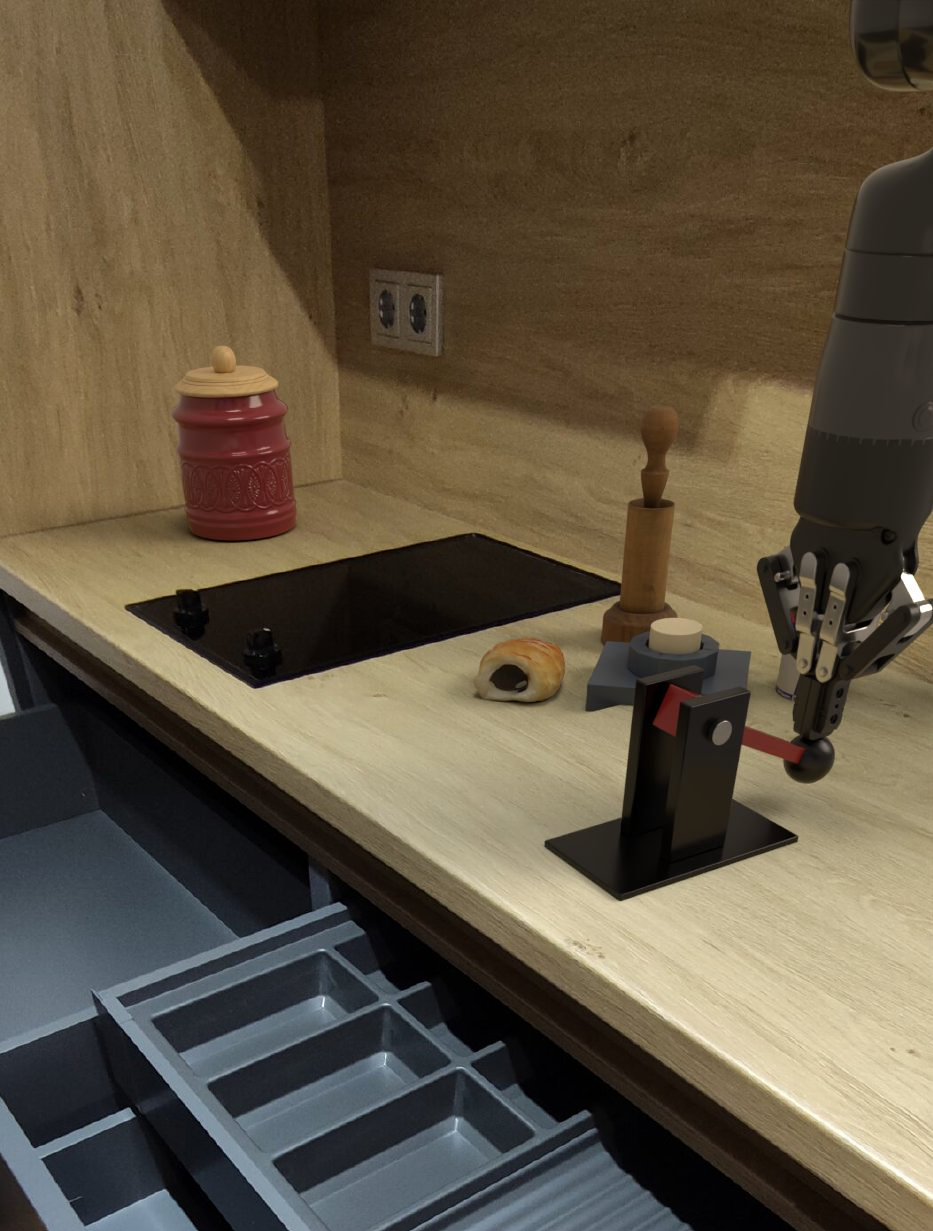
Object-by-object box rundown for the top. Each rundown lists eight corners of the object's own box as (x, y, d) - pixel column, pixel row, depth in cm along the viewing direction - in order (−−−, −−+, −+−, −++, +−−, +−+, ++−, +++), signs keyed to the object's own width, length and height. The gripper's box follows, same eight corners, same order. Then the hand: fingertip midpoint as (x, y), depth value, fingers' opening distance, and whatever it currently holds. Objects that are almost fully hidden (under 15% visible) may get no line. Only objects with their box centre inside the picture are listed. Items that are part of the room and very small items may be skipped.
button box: (747, 678, 94) (755, 628, 91) (739, 724, 87) (748, 672, 84) (604, 667, 97) (608, 618, 94) (585, 711, 90) (589, 660, 87)
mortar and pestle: (633, 623, 105) (656, 395, 93) (689, 640, 101) (721, 404, 89) (586, 641, 101) (603, 406, 89) (642, 659, 98) (668, 417, 86)
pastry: (505, 660, 98) (507, 614, 96) (580, 670, 96) (584, 623, 94) (469, 699, 92) (470, 651, 89) (548, 710, 90) (551, 661, 87)
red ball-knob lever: (793, 777, 76) (817, 730, 74) (828, 795, 74) (853, 747, 72) (643, 727, 67) (667, 673, 65) (677, 746, 65) (703, 691, 63)
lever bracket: (712, 804, 77) (739, 641, 70) (795, 853, 72) (833, 681, 65) (542, 857, 72) (552, 687, 65) (618, 913, 67) (638, 735, 60)
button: (701, 642, 90) (704, 619, 89) (697, 659, 88) (700, 636, 86) (651, 638, 91) (654, 615, 90) (645, 655, 88) (647, 632, 87)
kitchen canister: (192, 547, 127) (164, 358, 115) (183, 518, 136) (156, 340, 124) (306, 537, 129) (291, 350, 117) (289, 509, 138) (273, 334, 126)
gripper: (1032, 430, 58) (935, 758, 69) (842, 392, 66) (784, 689, 78) (928, 448, 55) (845, 786, 66) (744, 406, 63) (699, 712, 75)
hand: (812, 733), depth 72 cm, fingers closed
